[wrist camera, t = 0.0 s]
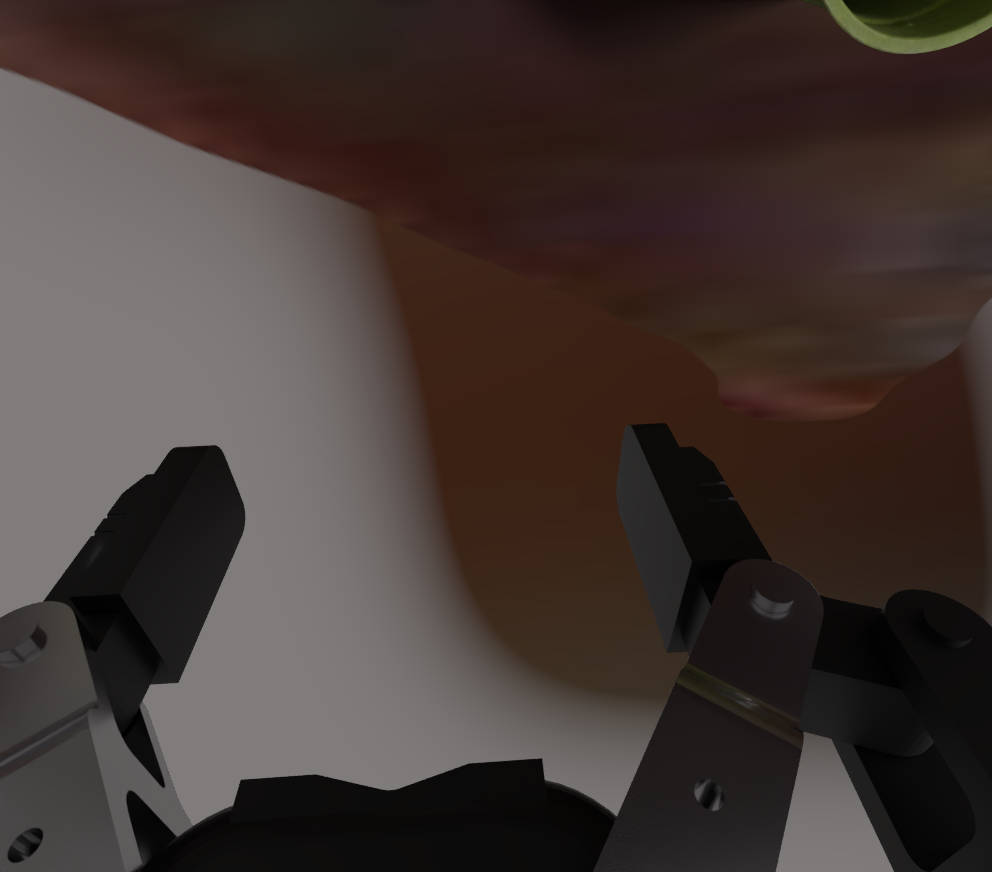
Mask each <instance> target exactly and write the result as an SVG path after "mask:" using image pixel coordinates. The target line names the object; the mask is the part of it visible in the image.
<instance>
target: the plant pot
mask: <svg viewBox="0 0 992 872" xmlns="http://www.w3.org/2000/svg"><path fill="white" fill-rule="evenodd" d="M801 1H804V2H807V3H810V4H813V5H816V6H818V7H821V8H824V9H827V10H828V12H829V13H830V15H831V16H832V18H833V19H834V20H835V21H836V22H837V24H838V25H839V26H840V27H841V28H842V29H843V30H844V31H845V32H847V33H848V34H849V35H850V36H852V37H853V38H855V39H856V40H858V41H859V42H861V43H863V44H865V45H867V46H869V47H872V48H874V49H877V50H881V51H885V52H890V53H899V54H913V53H923V52H929V51H934V50H939V49H942V48H946V47H949V46H953V45H955V44H958V43H960V42H963V41H965V40H967V39H970V38H972V37H974V36H976V35H978V34H979V33H981V32H983V31H985V30H987V29H988V28H990V27H992V0H801Z"/></svg>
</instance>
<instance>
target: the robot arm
mask: <svg viewBox="0 0 992 872" xmlns="http://www.w3.org/2000/svg"><path fill="white" fill-rule="evenodd" d="M617 503H618V509H619V512H620V516H621V519H622V522H623V525H624V528H625V530H626V534H627V537H628V540H629V543H630V546H631V548H632V551H633V554H634V557H635V560H636V563H637V566H638V569H639V572H640V575H641V578H642V581H643V584H644V587H645V590H646V592H647V596H648V598H649V601H650V604H651V607H652V610H653V613H654V616H655V619H656V622H657V625H658V628H659V631H660V634H661V637H662V640H663V643H664V645H665V648H666V651H667V653H672V652H688V654H689V659H688V661H687V663H686V665H685V667H684V669H682V670H681V671H680V673H679V675H678V677H677V679H676V682H675V684H674V686H673V689H672V691H671V693H670V695H669V698H668V700H667V702H666V705H665V707H664V709H663V711H662V714H661V716H660V718H659V721H658V723H657V725H656V728H655V730H654V732H653V735H652V737H651V739H650V741H649V744H648V746H647V748H646V751H645V753H644V755H643V758H642V760H641V762H640V765H639V767H638V769H637V772H636V774H635V776H634V778H633V781H632V783H631V785H630V788H629V790H628V792H627V795H626V797H625V799H624V802H623V804H622V806H621V808H620V811H619V813H618V816H617V817H616V816H615V815H614V814H613V813H612V812H611V811H610V810H608V809H606V808H605V807H604V806H602V805H601V804H600V803H598V802H597V801H595V800H594V799H592V798H590V797H588V796H587V795H584V794H583V793H581V792H579V791H577V790H575V789H572V788H569V787H567V786H564V785H562V784H559V783H555V782H550V781H546V780H545V779H544V772H543V762H542V758H541V759H527V760H513V761H501V762H500V761H499V762H485V763H471V764H467V765H464V766H461V767H458V768H455V769H453V770H450V771H447V772H445V773H442V774H439V775H436V776H433V777H431V778H427V779H425V780H422V781H419V782H416V783H414V784H411V785H408V786H405V787H402V788H400V789H396V790H389V791H388V790H381V789H377V788H372V787H368V786H364V785H359V784H355V783H351V782H346V781H342V780H338V779H333V778H329V777H324V776H320V775H303V776H288V777H274V778H261V779H247V780H241V781H240V784H239V788H238V791H237V795H236V798H235V802H234V805H233V806H231V807H228V808H226V809H224V810H222V811H219V812H217V813H215V814H213V815H211V816H209V817H207V818H206V819H204V820H202V821H201V822H199V823H197V824H196V825H194V826H192V824H191V822H190V820H189V818H188V817H187V815H186V813H185V812H184V809H183V808H182V806H181V804H180V801H179V799H178V797H177V794H176V791H175V789H174V786H173V783H172V780H171V777H170V774H169V771H168V769H167V765H166V762H165V759H164V757H163V754H162V751H161V748H160V745H159V742H158V739H157V736H156V733H155V730H154V728H153V725H152V721H151V719H150V716H149V713H148V710H147V708H146V706H145V705H144V703H143V702H142V700H143V698H144V696H145V694H146V692H147V690H148V688H149V685H151V684H164V683H165V684H166V683H178V682H179V680H180V678H181V675H182V673H183V671H184V668H185V666H186V664H187V662H188V659H189V657H190V655H191V652H192V650H193V648H194V645H195V643H196V641H197V638H198V636H199V633H200V631H201V629H202V627H203V625H204V622H205V620H206V618H207V615H208V613H209V611H210V608H211V606H212V604H213V601H214V599H215V597H216V594H217V592H218V590H219V587H220V585H221V583H222V580H223V578H224V576H225V574H226V571H227V569H228V566H229V564H230V562H231V559H232V557H233V555H234V553H235V550H236V548H237V545H238V543H239V541H240V539H241V536H242V534H243V531H244V526H245V509H244V504H243V501H242V499H241V496H240V493H239V491H238V488H237V486H236V484H235V481H234V478H233V476H232V474H231V471H230V469H229V466H228V463H227V461H226V458H225V456H224V454H223V452H222V450H221V449H220V448H219V447H218V446H216V445H212V446H192V447H176V448H173V449H172V450H170V452H169V453H168V454H167V456H166V457H165V459H164V460H163V462H162V463H161V465H160V466H159V467H158V469H157V470H156V472H155V473H154V474H149V475H146V476H144V477H143V478H142V479H140V480H139V481H138V482H137V483H135V484H134V485H133V486H131V487H130V488H129V489H127V490H126V491H125V492H124V493H123V494H122V495H121V496H120V497H119V499H118V500H117V501H116V503H115V504H114V506H113V507H112V508H111V510H110V511H109V513H108V514H107V516H108V517H107V518H105V519H103V521H102V522H101V523H100V525H99V526H98V527H97V529H96V530H95V535H94V536H91V537H90V538H89V540H88V541H87V542H86V544H85V545H84V547H83V548H82V549H81V551H80V552H79V553H78V555H77V556H76V557H75V559H74V560H73V562H72V563H71V564H70V566H69V567H68V568H67V570H66V571H65V572H64V574H63V575H62V577H61V578H60V579H59V581H58V582H57V583H56V585H55V586H54V587H53V589H52V590H51V592H50V593H49V594H48V596H47V597H46V598H45V600H44V601H43V602H39V603H35V604H31V605H27V606H25V607H22V608H19V609H17V610H14V611H12V612H10V613H8V614H6V615H4V616H3V617H1V618H0V872H776V868H777V863H778V859H779V854H780V849H781V845H782V840H783V836H784V831H785V826H786V821H787V817H788V813H789V808H790V804H791V799H792V794H793V790H794V785H795V781H796V776H797V772H798V767H799V762H800V757H801V752H802V747H803V739H804V734H803V731H804V732H808V733H811V734H815V735H819V736H823V737H827V738H831V739H832V741H833V743H834V745H835V747H836V749H837V752H838V754H839V756H840V758H841V760H842V762H843V764H844V766H845V769H846V771H847V772H848V775H849V777H850V779H851V781H852V783H853V785H854V788H855V790H856V791H857V794H858V796H859V798H860V800H861V802H862V805H863V807H864V809H865V811H866V813H867V815H868V817H869V819H870V821H871V824H872V826H873V828H874V830H875V832H876V834H877V836H878V838H879V840H880V843H881V845H882V847H883V849H884V851H885V853H886V855H887V857H888V859H889V862H890V864H891V866H892V868H893V870H894V872H992V627H991V626H990V625H989V624H988V623H987V622H986V621H985V620H984V619H983V618H982V617H980V616H979V615H978V614H977V613H975V612H974V611H972V610H971V609H970V608H968V607H966V606H965V605H963V604H961V603H959V602H957V601H955V600H953V599H951V598H949V597H946V596H944V595H941V594H938V593H934V592H931V591H925V590H914V589H911V590H903V591H900V592H897V593H895V594H893V595H892V596H891V597H890V598H889V599H888V601H887V603H886V604H885V606H884V607H883V609H880V608H874V607H869V606H865V605H859V604H855V603H850V602H845V601H840V600H835V599H831V598H827V597H824V596H821V595H819V594H818V592H817V591H816V589H815V588H814V587H813V586H812V584H811V583H810V582H809V581H808V580H807V579H806V578H804V577H803V576H802V575H800V574H799V573H798V572H796V571H794V570H793V569H791V568H789V567H787V566H784V565H782V564H779V563H776V562H773V561H772V559H771V557H770V556H769V554H768V552H767V551H766V549H765V547H764V546H763V544H762V542H761V541H760V539H759V537H758V536H757V534H756V533H755V531H754V529H753V527H752V526H751V524H750V523H749V521H748V519H747V517H746V516H745V514H744V512H743V511H742V509H741V507H740V506H739V504H738V502H737V501H735V500H734V496H733V494H732V492H731V491H730V489H729V488H728V486H727V485H725V481H724V479H723V477H722V476H721V474H720V473H719V471H718V469H717V468H716V466H715V464H714V463H713V462H712V461H711V460H710V459H708V458H707V457H706V456H704V455H703V454H702V453H701V452H699V451H698V450H697V449H696V448H694V447H679V445H678V444H677V442H676V440H675V438H674V436H673V434H672V432H671V431H670V429H669V427H668V426H667V424H665V423H658V424H639V425H638V424H637V425H627V426H626V428H625V431H624V436H623V443H622V450H621V457H620V465H619V472H618V479H617Z"/></svg>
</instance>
